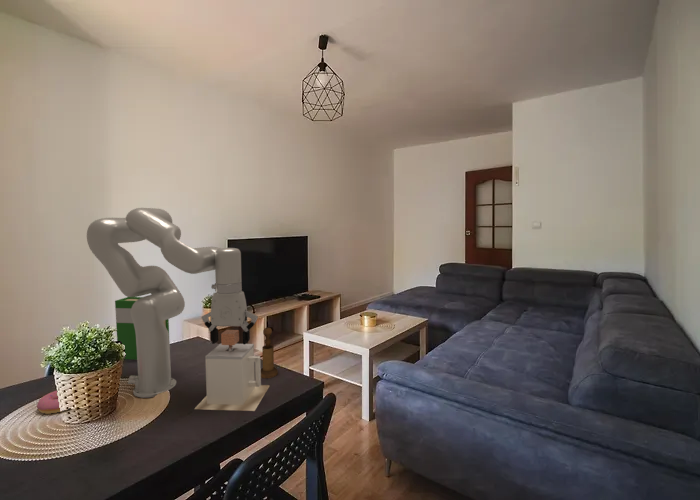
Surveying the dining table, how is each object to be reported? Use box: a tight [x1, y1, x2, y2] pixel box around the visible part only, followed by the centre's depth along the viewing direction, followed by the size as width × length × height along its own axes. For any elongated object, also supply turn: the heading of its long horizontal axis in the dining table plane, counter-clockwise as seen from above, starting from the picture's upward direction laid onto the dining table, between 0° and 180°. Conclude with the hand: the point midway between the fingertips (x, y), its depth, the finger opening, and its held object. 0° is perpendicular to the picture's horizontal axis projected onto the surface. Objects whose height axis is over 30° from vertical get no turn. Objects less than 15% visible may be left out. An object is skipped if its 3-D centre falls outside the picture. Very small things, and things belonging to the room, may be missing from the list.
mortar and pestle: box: [261, 327, 279, 379], centre depth 126 cm, size 7×6×18 cm
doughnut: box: [36, 390, 61, 415], centre depth 107 cm, size 11×11×4 cm
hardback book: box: [114, 296, 170, 361], centre depth 146 cm, size 18×7×24 cm, turn 84°
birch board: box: [194, 384, 271, 412], centre depth 111 cm, size 18×16×1 cm
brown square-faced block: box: [220, 329, 240, 351], centre depth 111 cm, size 8×8×19 cm
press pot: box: [205, 343, 262, 405], centre depth 111 cm, size 15×11×15 cm
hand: (230, 342), depth 110 cm, fingers open, 9 cm apart
